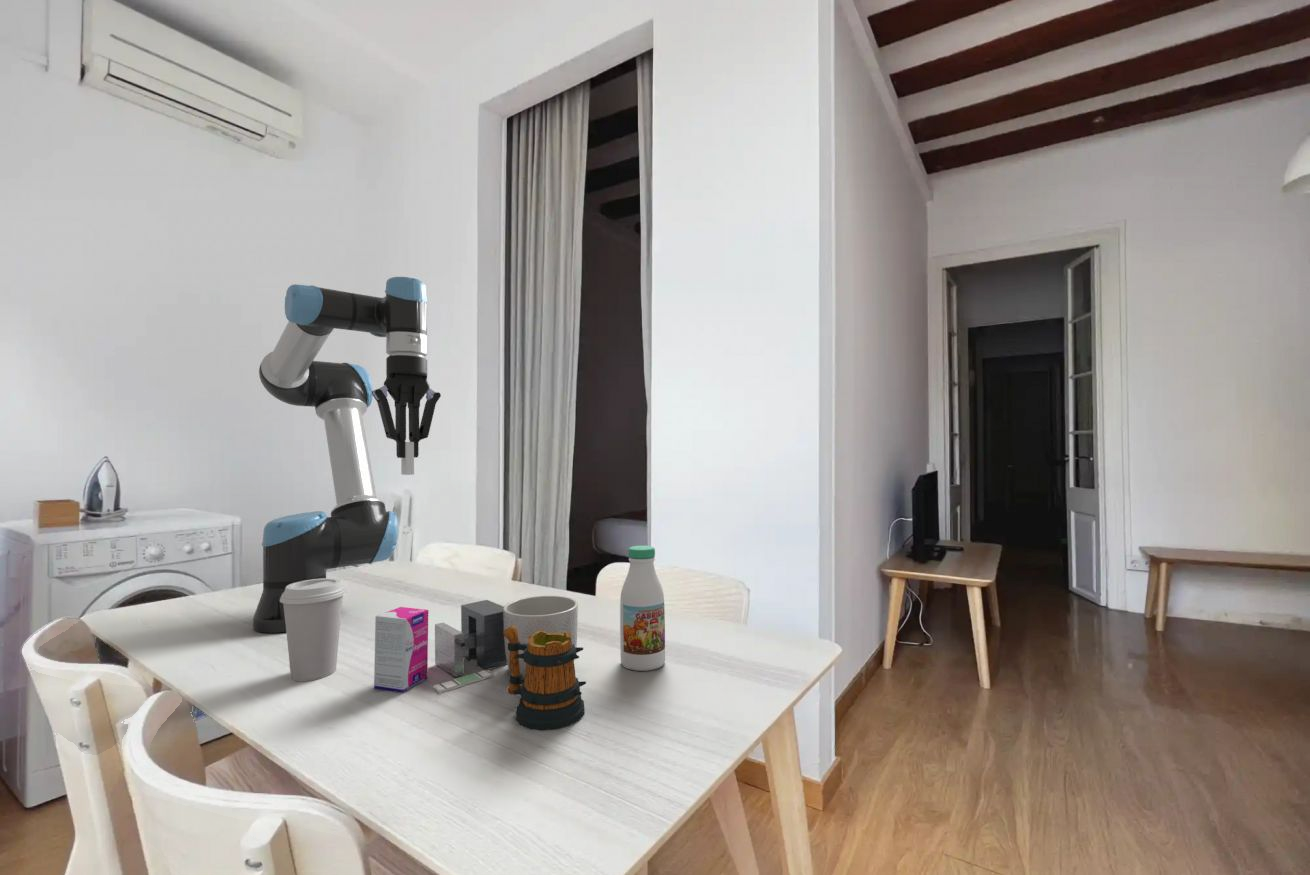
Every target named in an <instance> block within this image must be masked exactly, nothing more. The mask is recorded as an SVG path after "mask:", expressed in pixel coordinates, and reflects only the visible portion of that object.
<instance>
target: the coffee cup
mask: <svg viewBox="0 0 1310 875" xmlns="http://www.w3.org/2000/svg"><path fill="white" fill-rule="evenodd" d="M346 593H347V590H346V588H345V586H344V585H343V584H342V582H341V579H338V578H332V577H331V578H329V577H328V578H327V577H326V578H322V579H311V580H305V581H300V582H295V583H292V584H289V585H287V586H286V588H285V591H284V593H282V596H281V598H280V602H281V603H283V606H284V615H285V624H286V632H285V633H286V642H287V652H288V661H289V671H290V679H291V680H293V681H295V682H310V681H315V680H320V679H324V678H326V677H328V676H329V677H330V675H331V676H332V674H333V673H335V672H336V671H337V663H338V652H339V641H340V639H339V638H340V629H341V621H342V620H341V618H342V611H343V610H342V608H343V598H344V596H345V594H346Z"/></svg>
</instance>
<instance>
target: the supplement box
mask: <svg viewBox="0 0 1310 875" xmlns="http://www.w3.org/2000/svg"><path fill="white" fill-rule="evenodd" d="M374 624H375V626H374V628H375V630H374V634H375V635H374V666H373V668H374V674H373V675H374V680H373V689H374V690H376V691H383V690H385V692H386V691H387V692H392V693H393V692H394V693H398V692H399V693H400V694H404V693H405V692H407V691H408V690H410V689H411V688H414V687H415V686H416V685H418V684H420V683H421V682H424V681H425V680H427V679H428V663H429V662H428V657H429V656H428V655H429V654H428V653H429V609H426V608H425V609H424V608H416V607H415V608H413V607H406V606H399V607H396V608H394V609H391V610H388V611H386V612H384V613H383V612H382V613H381V614H379V615H376V616H375V622H374Z"/></svg>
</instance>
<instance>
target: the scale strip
mask: <svg viewBox="0 0 1310 875" xmlns="http://www.w3.org/2000/svg"><path fill="white" fill-rule="evenodd" d="M493 677H495V674H494V673H493V672H492V671H490V669H489V670H481V671H478V672H475V673H470V674H467V675H463V676H461V677H460V676H459V677H457V678H455V679H451V680H448V681H445V682H441V683H439V684H435V685H433V688H432V689H433V690H435V691H437V693H439V694H441V693H442V694H443V692H447V691H452V690H454V689H458V688H461V687H463V686H467V685H470V684H473V683H476V682H480V681H482V680H486V679H489V678H493ZM457 687H458V688H457Z"/></svg>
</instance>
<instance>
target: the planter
mask: <svg viewBox="0 0 1310 875" xmlns="http://www.w3.org/2000/svg"><path fill="white" fill-rule="evenodd" d="M503 607H504V608H503V621H504V630H506V629H507V628H509V627H511V626H513V625H514V626H515V627H516V628H517V630H518V636H519V642H521V644H522V643H524V644H528V642H529V636H531V635H532V634H534V633H536V632H537V631H538V630H540V631H544V632H546V633H562V634H564V632H569V633H571V641H572V644H573V645H575V647H577V646H578V623H579V622H578V620H579V618H578V616H579V612H578V611H579V602H578V601H577V600H575V599H573V598H571V597H567V596H560V595H537V596H536V595H535V596H529V597H524V598H519V599H514V600H513V601H510V602H509V603H506V604H505V605H504V606H503ZM504 642H505V654H506V660H507V664H506V665H507V667H508V669H509V670H510V666H509V653H510V651H509V650H508V643H509V640H508V639H507V638H506V637H505V636H504ZM522 653H524V651H523V650H519V654H522ZM519 663H520V673H521V674H522V677H523V678H525V671H526V662H524V659H521V658H519Z"/></svg>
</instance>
